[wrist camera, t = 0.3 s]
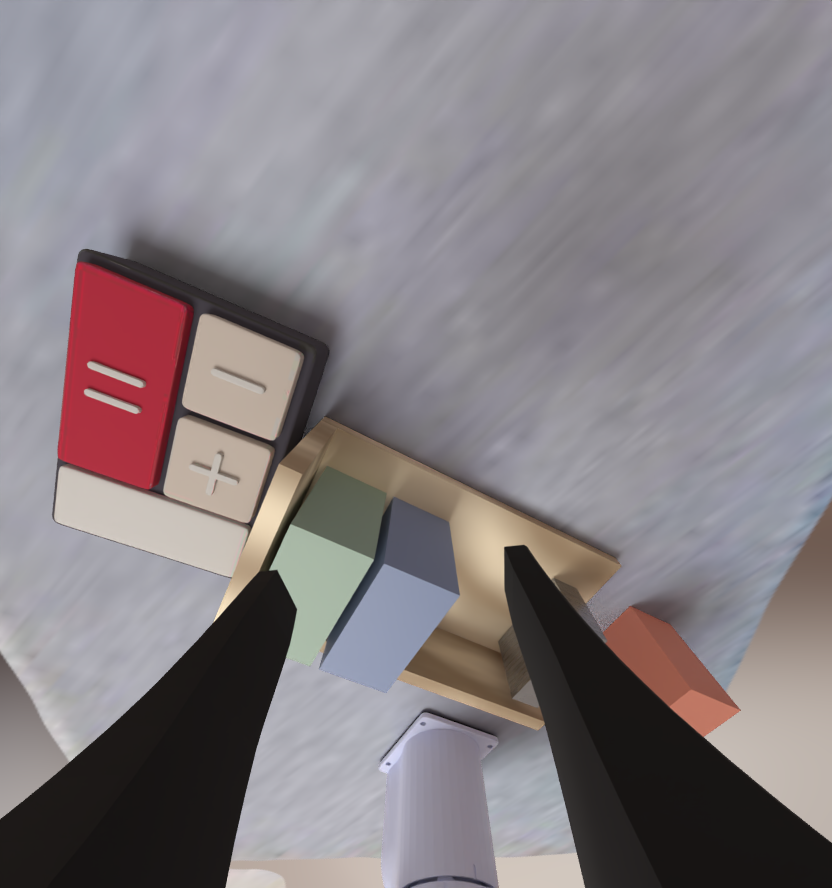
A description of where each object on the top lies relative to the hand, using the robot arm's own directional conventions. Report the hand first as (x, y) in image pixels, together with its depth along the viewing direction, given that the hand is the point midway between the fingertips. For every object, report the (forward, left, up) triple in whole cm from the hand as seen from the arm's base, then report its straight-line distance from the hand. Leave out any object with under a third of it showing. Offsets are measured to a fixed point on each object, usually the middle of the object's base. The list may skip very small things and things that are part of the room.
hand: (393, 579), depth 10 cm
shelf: (-6, -6, -11) cm, 13 cm away
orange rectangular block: (-7, -23, -11) cm, 26 cm away
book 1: (-7, +2, -10) cm, 12 cm away
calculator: (-4, +11, -11) cm, 16 cm away
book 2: (-7, -3, -10) cm, 12 cm away
